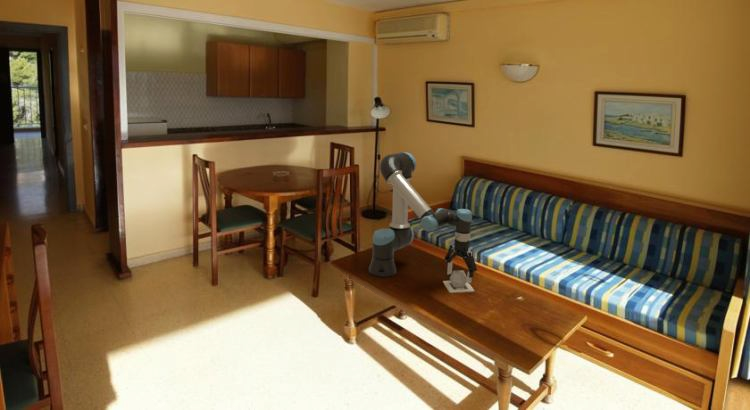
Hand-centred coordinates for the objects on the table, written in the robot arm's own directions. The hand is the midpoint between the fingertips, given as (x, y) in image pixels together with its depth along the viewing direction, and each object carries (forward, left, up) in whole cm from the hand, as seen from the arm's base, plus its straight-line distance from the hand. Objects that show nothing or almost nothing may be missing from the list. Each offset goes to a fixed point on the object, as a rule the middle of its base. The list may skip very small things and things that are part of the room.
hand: (459, 278), depth 253 cm
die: (0, 0, -4) cm, 5 cm away
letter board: (0, 0, -5) cm, 5 cm away
